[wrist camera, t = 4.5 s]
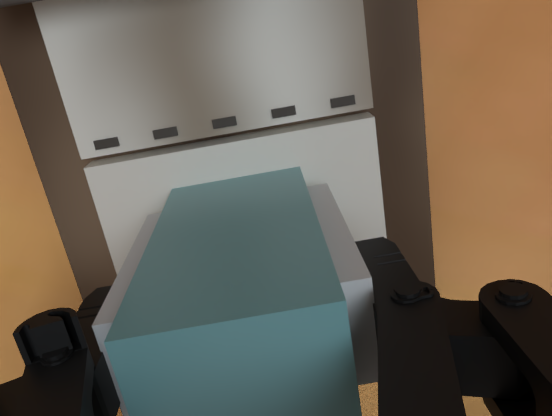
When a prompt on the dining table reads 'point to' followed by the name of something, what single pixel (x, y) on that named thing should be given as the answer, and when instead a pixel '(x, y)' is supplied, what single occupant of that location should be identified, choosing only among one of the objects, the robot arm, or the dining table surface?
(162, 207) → the teal cube on panel
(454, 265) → the dining table surface
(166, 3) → the board
